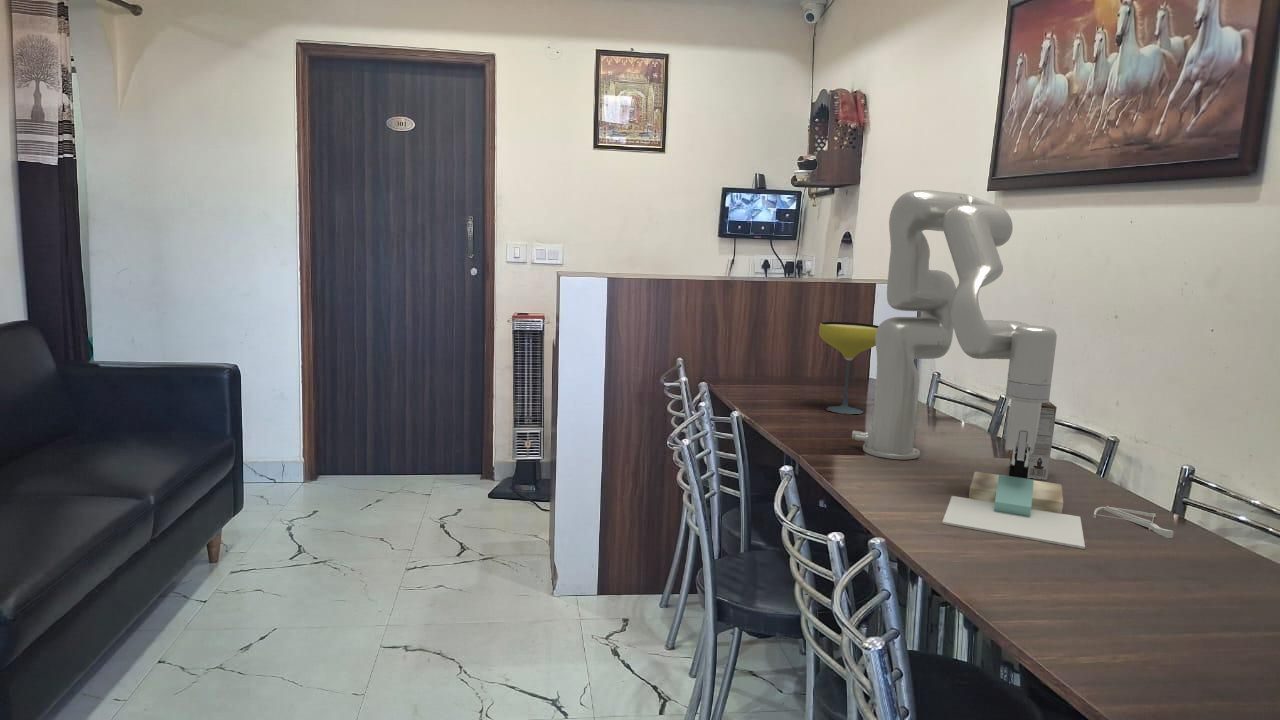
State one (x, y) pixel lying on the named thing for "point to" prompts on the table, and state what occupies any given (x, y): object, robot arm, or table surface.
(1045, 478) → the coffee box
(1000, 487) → the teal tile
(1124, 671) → the table surface
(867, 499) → the table surface
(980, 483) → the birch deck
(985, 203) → the robot arm
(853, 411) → the cocktail glass
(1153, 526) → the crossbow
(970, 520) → the white mat
